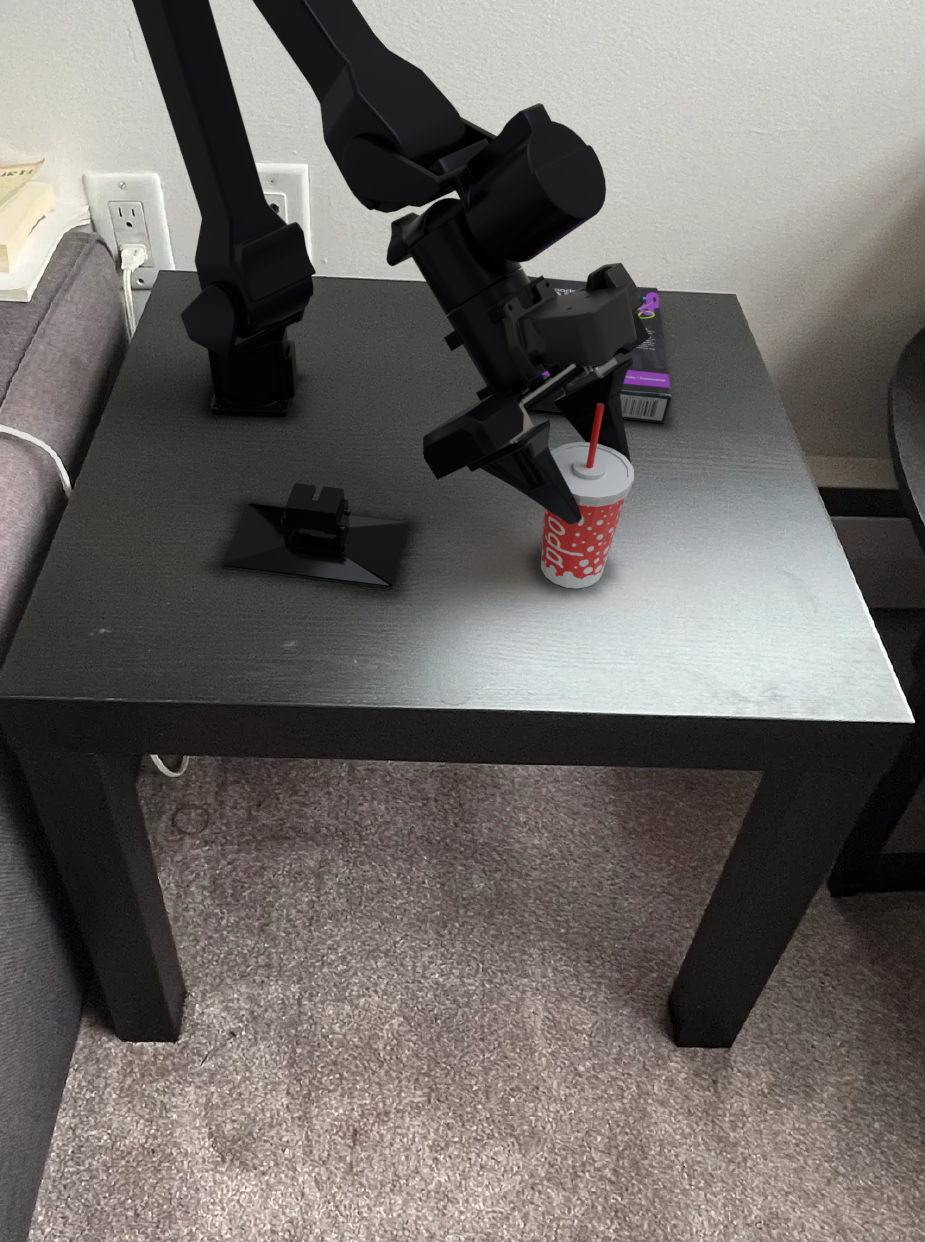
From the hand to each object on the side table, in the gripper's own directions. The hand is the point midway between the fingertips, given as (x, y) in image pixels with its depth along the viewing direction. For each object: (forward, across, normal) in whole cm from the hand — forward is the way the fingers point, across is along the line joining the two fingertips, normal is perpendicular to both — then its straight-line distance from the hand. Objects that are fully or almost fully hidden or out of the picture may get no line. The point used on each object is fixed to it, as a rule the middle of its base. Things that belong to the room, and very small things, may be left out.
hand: (602, 499), depth 67 cm
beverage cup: (+4, 0, +6) cm, 7 cm away
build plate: (-7, -11, +17) cm, 21 cm away
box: (-6, +25, +17) cm, 31 cm away
